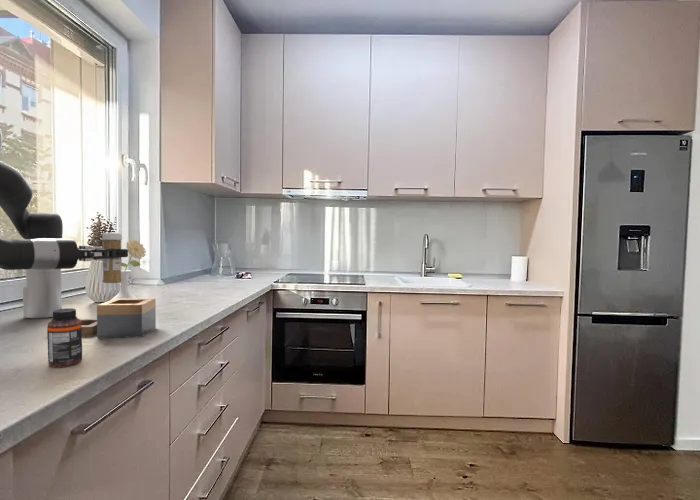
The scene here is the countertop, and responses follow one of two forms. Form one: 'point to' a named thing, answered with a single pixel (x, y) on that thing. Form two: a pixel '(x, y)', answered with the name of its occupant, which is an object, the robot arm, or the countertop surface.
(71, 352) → the supplement bottle
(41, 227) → the robot arm
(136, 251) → the flower in vase
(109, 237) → the seasoning jar
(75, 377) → the countertop surface
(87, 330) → the walnut stand
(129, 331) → the grey wooden square box
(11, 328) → the countertop surface
